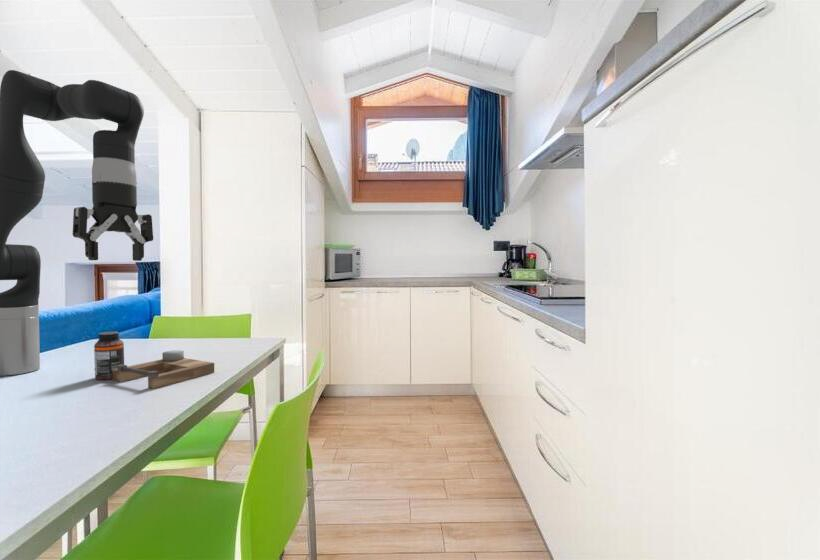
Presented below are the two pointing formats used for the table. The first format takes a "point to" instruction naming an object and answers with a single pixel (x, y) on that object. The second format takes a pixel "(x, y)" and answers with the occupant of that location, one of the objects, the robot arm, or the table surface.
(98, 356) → the supplement bottle
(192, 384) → the table surface
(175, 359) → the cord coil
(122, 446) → the table surface
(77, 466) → the table surface
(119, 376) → the notched board
